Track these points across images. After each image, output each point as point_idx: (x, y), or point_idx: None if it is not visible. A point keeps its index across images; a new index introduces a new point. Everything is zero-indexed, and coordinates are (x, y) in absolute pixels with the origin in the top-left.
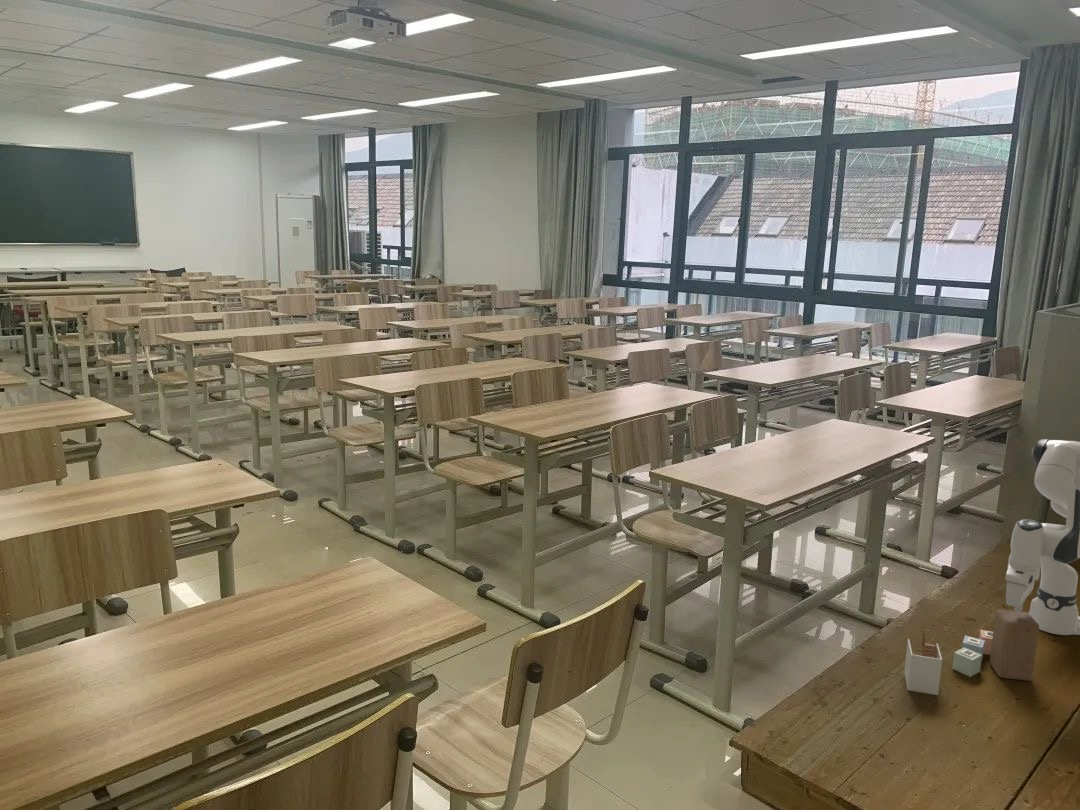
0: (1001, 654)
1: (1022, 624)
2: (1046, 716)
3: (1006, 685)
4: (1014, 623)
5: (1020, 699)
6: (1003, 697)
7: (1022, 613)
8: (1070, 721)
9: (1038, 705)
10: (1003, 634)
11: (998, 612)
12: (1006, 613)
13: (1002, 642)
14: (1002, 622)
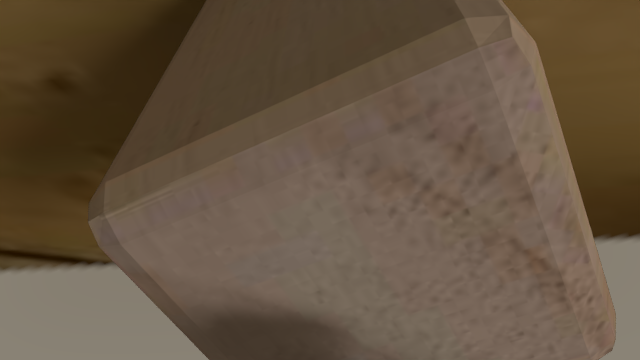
0: (195, 20)
1: (198, 342)
2: (14, 199)
3: (165, 18)
4: (144, 286)
5: (68, 98)
6: (9, 24)
7: (511, 335)
8: (60, 265)
9: (83, 167)
10: (151, 101)
11: (396, 79)
12: (385, 194)
13: (173, 60)
14: (178, 136)
